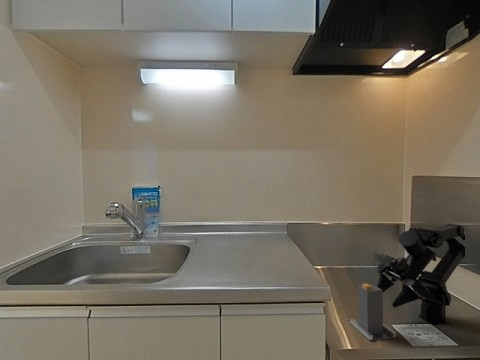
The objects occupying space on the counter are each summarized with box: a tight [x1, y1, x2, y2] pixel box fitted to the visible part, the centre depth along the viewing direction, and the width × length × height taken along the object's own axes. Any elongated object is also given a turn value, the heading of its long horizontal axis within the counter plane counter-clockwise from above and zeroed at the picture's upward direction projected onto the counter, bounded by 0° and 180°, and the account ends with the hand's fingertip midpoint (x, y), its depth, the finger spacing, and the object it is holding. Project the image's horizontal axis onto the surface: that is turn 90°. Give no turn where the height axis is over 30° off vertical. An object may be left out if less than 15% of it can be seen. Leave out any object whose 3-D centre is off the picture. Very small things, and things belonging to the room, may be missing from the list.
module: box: [357, 283, 384, 334], centre depth 99 cm, size 5×5×14 cm
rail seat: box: [349, 318, 397, 342], centre depth 100 cm, size 8×11×2 cm
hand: (384, 300), depth 101 cm, fingers open, 9 cm apart
